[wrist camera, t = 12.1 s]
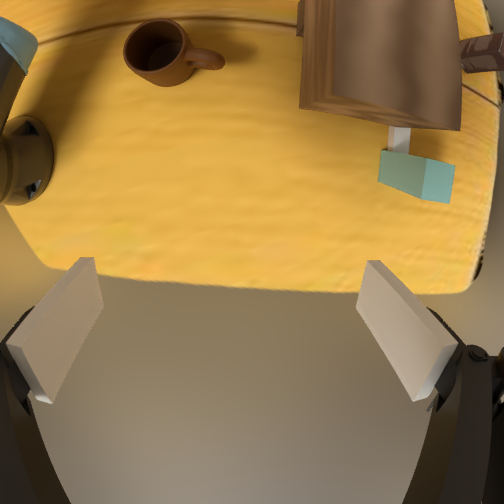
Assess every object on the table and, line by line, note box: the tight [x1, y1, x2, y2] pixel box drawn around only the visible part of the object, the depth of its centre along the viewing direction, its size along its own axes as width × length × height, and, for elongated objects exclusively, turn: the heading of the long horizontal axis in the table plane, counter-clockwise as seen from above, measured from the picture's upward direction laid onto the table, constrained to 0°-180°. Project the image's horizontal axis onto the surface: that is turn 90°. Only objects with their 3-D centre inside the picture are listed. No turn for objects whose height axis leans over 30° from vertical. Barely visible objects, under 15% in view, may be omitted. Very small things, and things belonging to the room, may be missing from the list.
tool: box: [378, 125, 455, 204], centre depth 32 cm, size 5×18×12 cm, turn 177°
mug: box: [123, 19, 225, 87], centre depth 29 cm, size 12×8×9 cm, turn 72°
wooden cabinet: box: [296, 0, 462, 131], centre depth 25 cm, size 15×18×18 cm
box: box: [460, 32, 504, 73], centre depth 26 cm, size 6×4×12 cm
